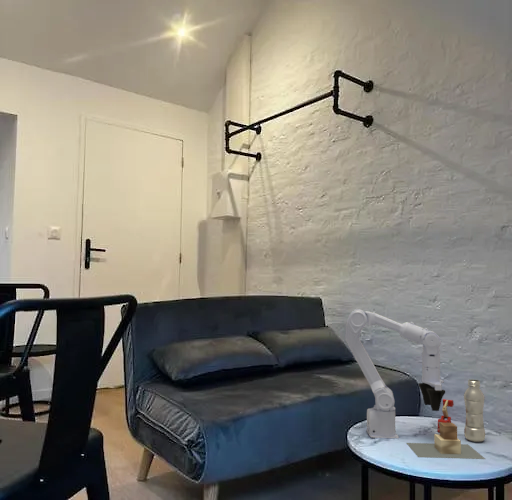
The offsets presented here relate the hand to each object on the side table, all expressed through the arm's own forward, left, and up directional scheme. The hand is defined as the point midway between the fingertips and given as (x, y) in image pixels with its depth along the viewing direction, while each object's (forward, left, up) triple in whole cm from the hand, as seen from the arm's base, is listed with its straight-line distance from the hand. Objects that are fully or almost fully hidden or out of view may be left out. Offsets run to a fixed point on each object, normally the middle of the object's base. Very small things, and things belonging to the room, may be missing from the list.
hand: (431, 407), depth 164 cm
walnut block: (+1, -12, -6) cm, 14 cm away
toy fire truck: (+9, +12, -11) cm, 18 cm away
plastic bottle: (+14, -1, -11) cm, 17 cm away
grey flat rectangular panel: (0, -12, -10) cm, 16 cm away
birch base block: (+1, -12, -10) cm, 16 cm away
